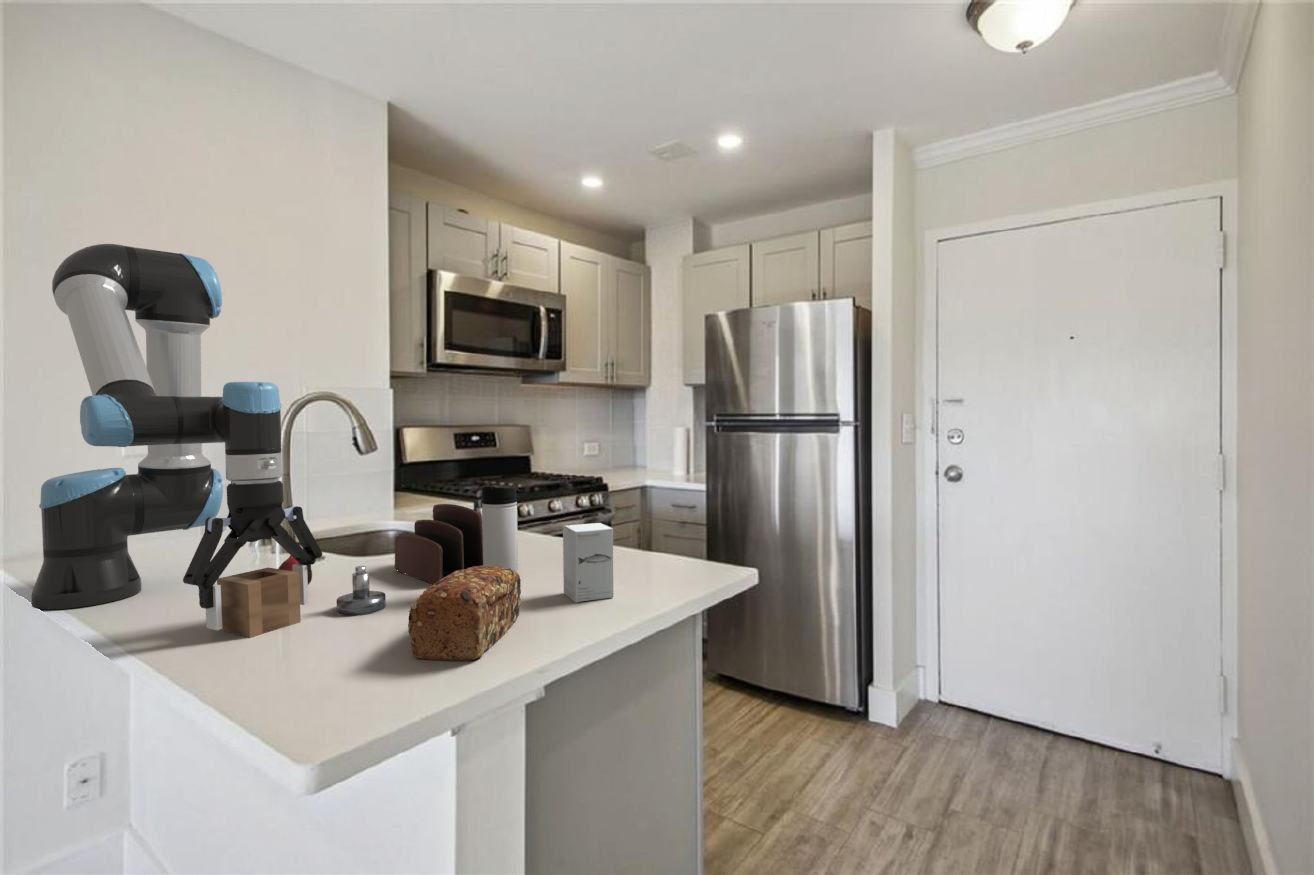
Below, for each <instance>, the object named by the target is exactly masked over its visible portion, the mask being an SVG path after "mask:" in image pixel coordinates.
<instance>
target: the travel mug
mask: <svg viewBox="0 0 1314 875" xmlns="http://www.w3.org/2000/svg"><path fill="white" fill-rule="evenodd" d="M481 498H482V500H481V506H482V507H481V516H482V528H483V566H484V565H485V566H492V567H493V566H498V567H503V568H510V569H511V570H514V571H516V572H517V573H518V574H519V544H518V543H519V538H518V506H517V504H518V502H517V488H516V487H509V488H508V487H496V486H495V485H484V486H482V487H481Z"/></svg>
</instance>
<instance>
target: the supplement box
mask: <svg viewBox="0 0 1314 875" xmlns="http://www.w3.org/2000/svg"><path fill="white" fill-rule="evenodd" d="M562 555H563V557H562V560H563V562H562V563H563V570H562V571H563V574H562V575H563V593H564V595H566V596H567V597H568V598H569V599H570V600H572V602H573V603H576V604H577V603H579V602H588V601H594V600H603V599H612V598H614V596H615V595H614V594H615V593H614V592H615V591H614V528H612V527H611V526H609V525H607V524H603V523H601V522H595V523H582V524H581V523H580V524H568V525H563V526H562Z"/></svg>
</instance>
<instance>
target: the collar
mask: <svg viewBox="0 0 1314 875" xmlns="http://www.w3.org/2000/svg"><path fill="white" fill-rule="evenodd" d="M216 584H217V585H221V607H222V629H220V630H219V631H221V630H222V631H223V632H226V633H231V634H235V635H238V636H243V637H247V638H253V637H257V636H260V635H262V634H266V633H268V632H273V631H276V630H278V628H279V629H282V628H285V627H288V626H292V625H295V624H297V623H301V621H302V620H301V605H300V589H299V572H293V571H287V570H281V569H278V568H273V567H263V568H260V569H255V570H250V571H246V572H242V573H241V572H240V573H238V574H233V575H227V576H223V577H219V578H218V579H217V581H216ZM281 627H282V628H281Z"/></svg>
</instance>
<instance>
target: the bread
mask: <svg viewBox="0 0 1314 875" xmlns="http://www.w3.org/2000/svg"><path fill="white" fill-rule="evenodd" d="M521 582H522V581H521V577H520V574H519V572H518V573H517V572H516V571H514V570H511V569H510V568H503V567H498V566H493V567H492V566H485V565H484V566H473V567H470V568H467V569H462V570H457V571H455V572H453V573H451V574H450V575H448V576H446V577H444V578H442V579H441V580H439V581H438V582H436V583H435V584H432V585H430V586H428V587H426V589H425V590H423V592H422V593H421V594H420V595H419V597H418V598H416V599H415V600H414V602H413V603H412V605H411V606H410V608H409V610H408V612H409V615H408V622H407V623H408V624H407V628H408V629H407V630H408V632H407V633H408V636H409V637H410V639H411V641H410V645H411V646H410V647H411V653H412V657H416V658H419V659H423V660H432V661H433V660H434V661H454V662H455V661H456V662H457V661H461V662H462V661H463V662H471V661H475V660H476V659H478V658H482V657H483V656H484V655H483V654H484V652H485V651H488V650H490V649H491V648H492V647H493V646H494V645H495V644H496V643H497V642H498V641H500V639H501V638H503V636H505V634H507V632H508V631H509V629H510V628H511V627H512V626H513V625H514V623H516V622H517V620H518V618H519V616H520V604H521V593H522V590H521V588H522V586H521Z"/></svg>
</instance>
